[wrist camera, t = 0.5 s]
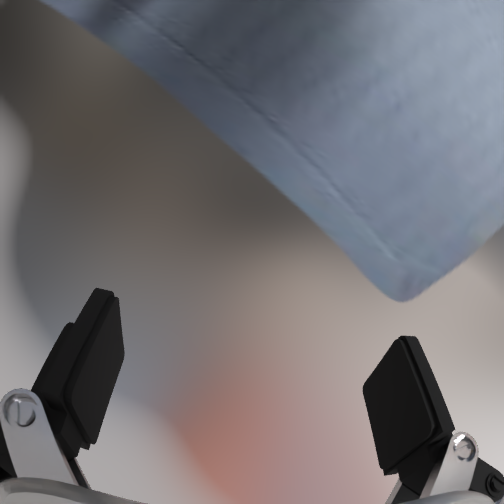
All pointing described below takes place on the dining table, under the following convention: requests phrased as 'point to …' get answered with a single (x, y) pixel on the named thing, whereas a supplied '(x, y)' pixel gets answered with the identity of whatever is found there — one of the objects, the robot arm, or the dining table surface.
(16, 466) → the robot arm
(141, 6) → the dining table surface
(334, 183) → the dining table surface
